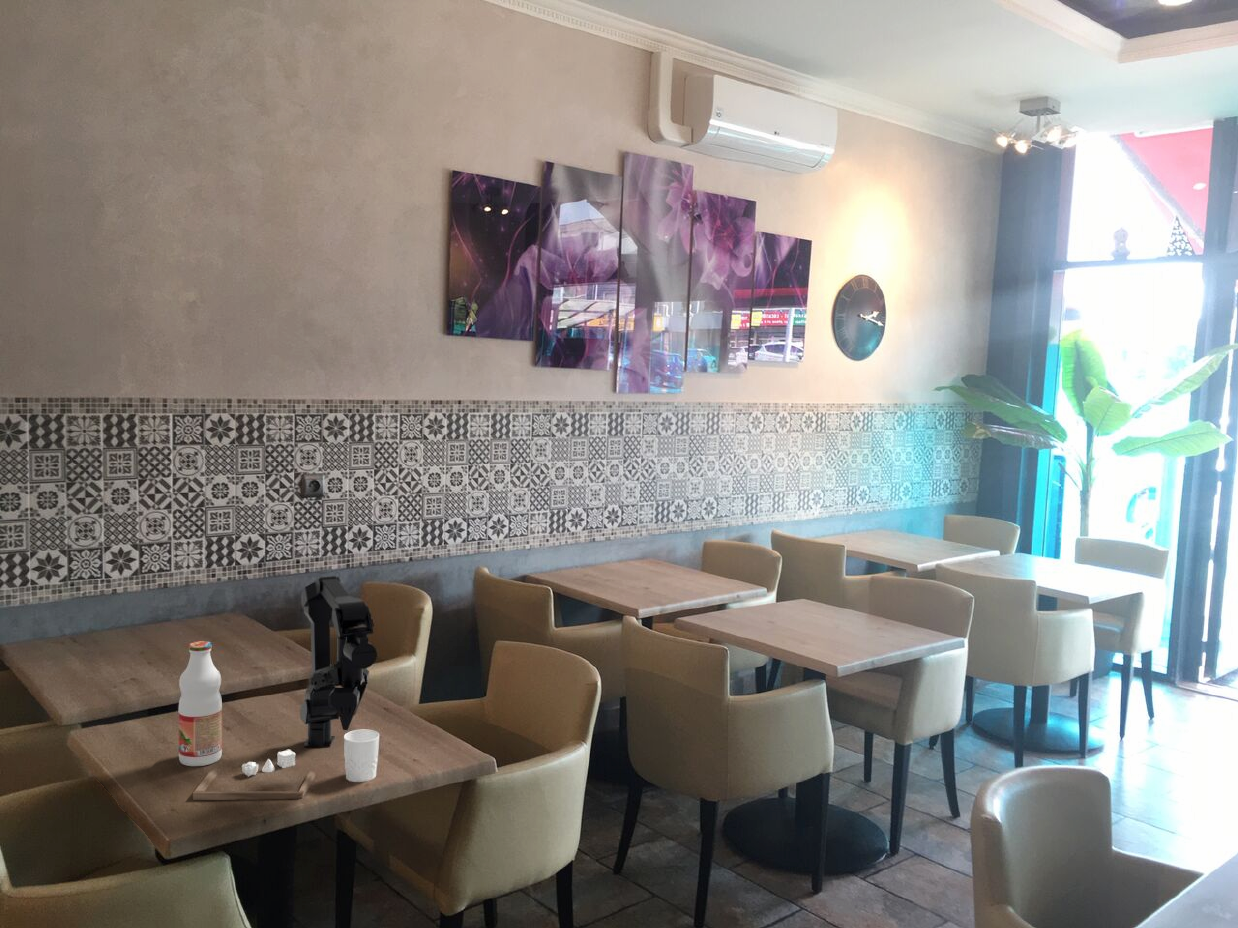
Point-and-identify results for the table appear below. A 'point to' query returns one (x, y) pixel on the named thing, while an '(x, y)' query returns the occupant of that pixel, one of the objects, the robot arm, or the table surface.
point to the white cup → (361, 754)
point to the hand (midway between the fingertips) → (349, 722)
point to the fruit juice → (200, 709)
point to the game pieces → (283, 760)
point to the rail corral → (234, 795)
